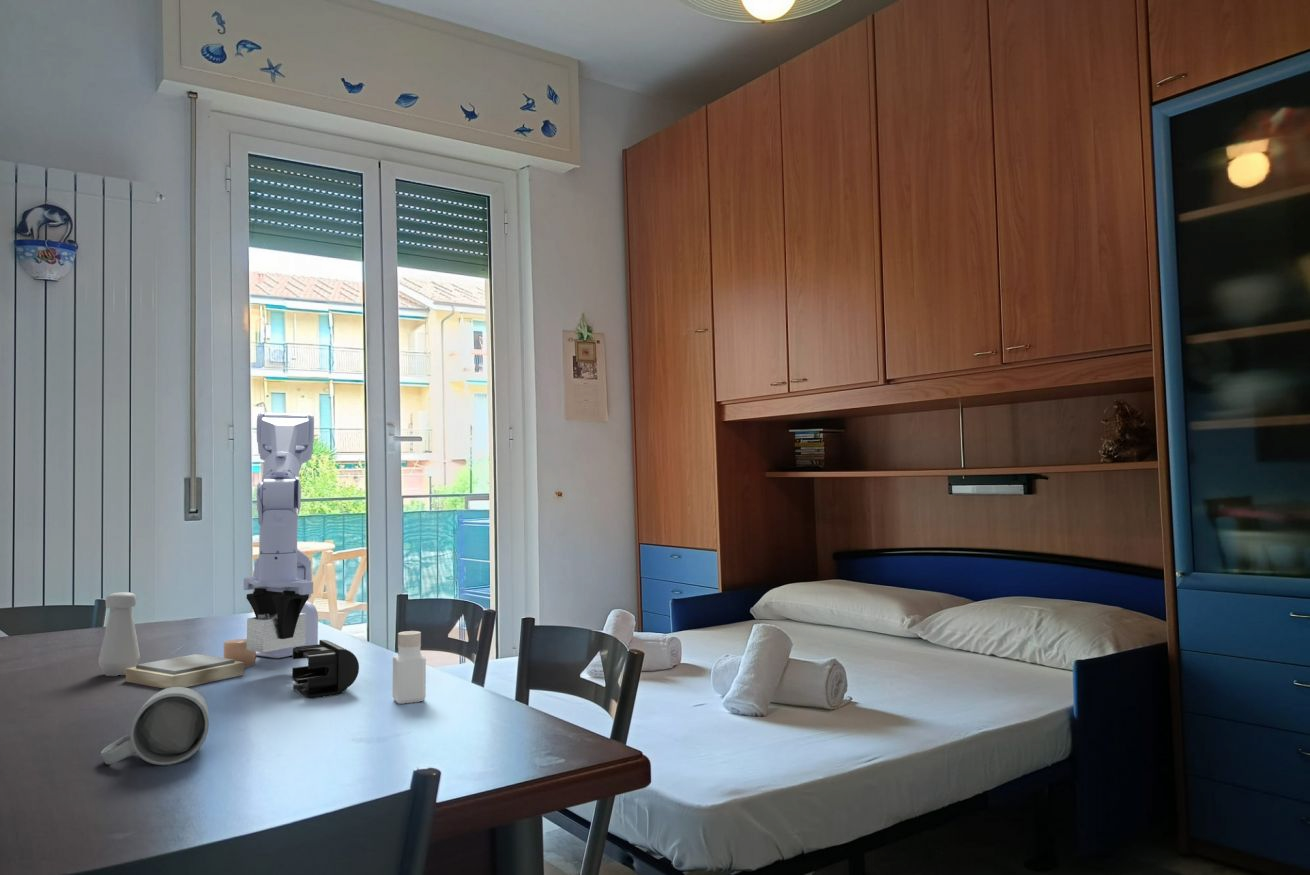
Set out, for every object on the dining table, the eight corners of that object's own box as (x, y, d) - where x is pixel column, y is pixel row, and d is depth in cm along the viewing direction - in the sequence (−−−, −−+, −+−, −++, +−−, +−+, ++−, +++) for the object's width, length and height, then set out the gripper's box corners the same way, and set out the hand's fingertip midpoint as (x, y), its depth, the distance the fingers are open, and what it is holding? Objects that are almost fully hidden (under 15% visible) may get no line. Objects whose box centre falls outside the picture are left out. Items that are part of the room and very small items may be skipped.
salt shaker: (125, 677, 144) (127, 595, 144) (89, 677, 144) (92, 595, 145) (146, 669, 150) (148, 590, 150) (112, 669, 150) (114, 590, 150)
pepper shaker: (391, 699, 128) (392, 631, 129) (420, 696, 130) (420, 629, 131) (397, 705, 125) (398, 636, 125) (426, 702, 127) (427, 633, 127)
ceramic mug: (209, 741, 108) (208, 676, 108) (208, 760, 101) (208, 690, 101) (105, 755, 103) (105, 687, 104) (97, 776, 96) (97, 702, 96)
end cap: (359, 693, 133) (359, 646, 133) (309, 700, 128) (309, 652, 129) (339, 681, 141) (339, 637, 141) (291, 687, 137) (291, 642, 137)
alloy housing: (289, 642, 151) (289, 608, 151) (305, 644, 149) (305, 609, 149) (246, 650, 144) (247, 614, 144) (263, 652, 142) (263, 616, 142)
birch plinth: (197, 667, 151) (197, 652, 151) (243, 674, 145) (244, 659, 145) (125, 681, 141) (125, 665, 141) (172, 689, 135) (172, 673, 135)
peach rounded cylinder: (243, 661, 157) (243, 637, 157) (261, 663, 154) (262, 640, 155) (216, 666, 153) (217, 642, 153) (235, 669, 150) (236, 644, 150)
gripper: (227, 552, 147) (226, 636, 146) (287, 556, 140) (286, 644, 139) (265, 549, 153) (263, 630, 152) (324, 552, 146) (323, 637, 145)
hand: (277, 636), depth 146 cm, fingers closed on alloy housing, 4 cm apart
